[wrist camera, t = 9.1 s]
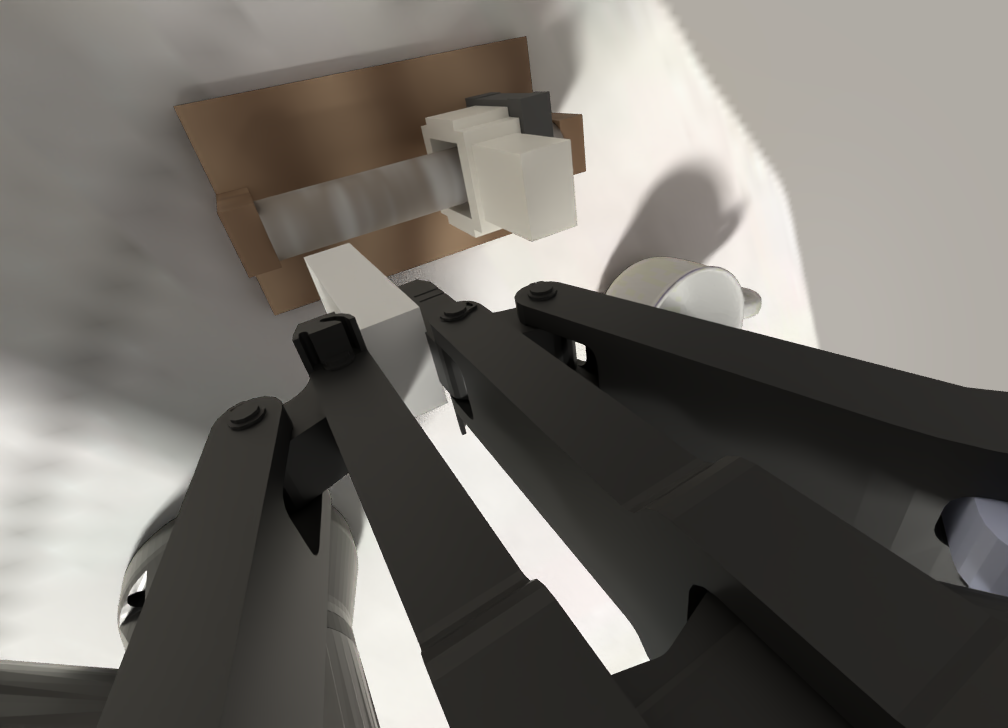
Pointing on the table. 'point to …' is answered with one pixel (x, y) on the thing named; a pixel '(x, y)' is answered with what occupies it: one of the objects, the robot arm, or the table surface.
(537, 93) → the charcoal slab
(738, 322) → the teacup
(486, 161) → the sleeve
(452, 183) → the pipe rig
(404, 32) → the table surface
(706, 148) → the table surface
